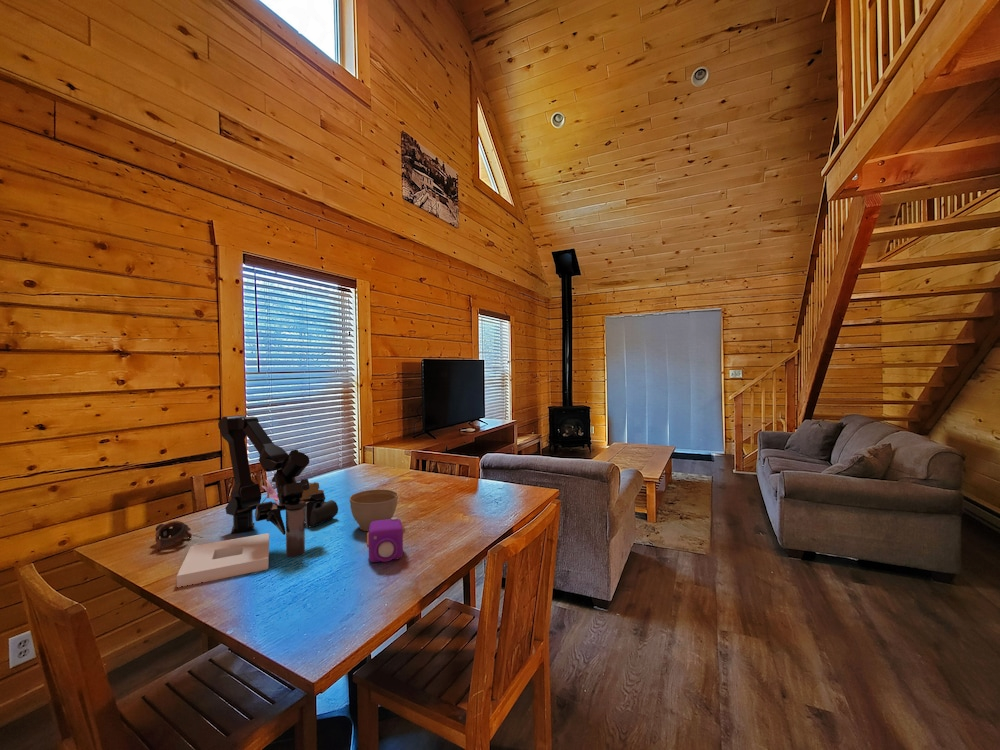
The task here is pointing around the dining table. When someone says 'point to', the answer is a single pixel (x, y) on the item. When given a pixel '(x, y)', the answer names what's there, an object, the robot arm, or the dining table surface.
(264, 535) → the mount plate
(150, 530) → the dining table surface
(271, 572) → the dining table surface
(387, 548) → the toy camera
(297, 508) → the tube
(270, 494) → the lily
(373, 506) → the planter bowl
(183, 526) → the brown hollow sculpture
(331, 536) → the dining table surface
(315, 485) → the wooden carving
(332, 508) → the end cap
